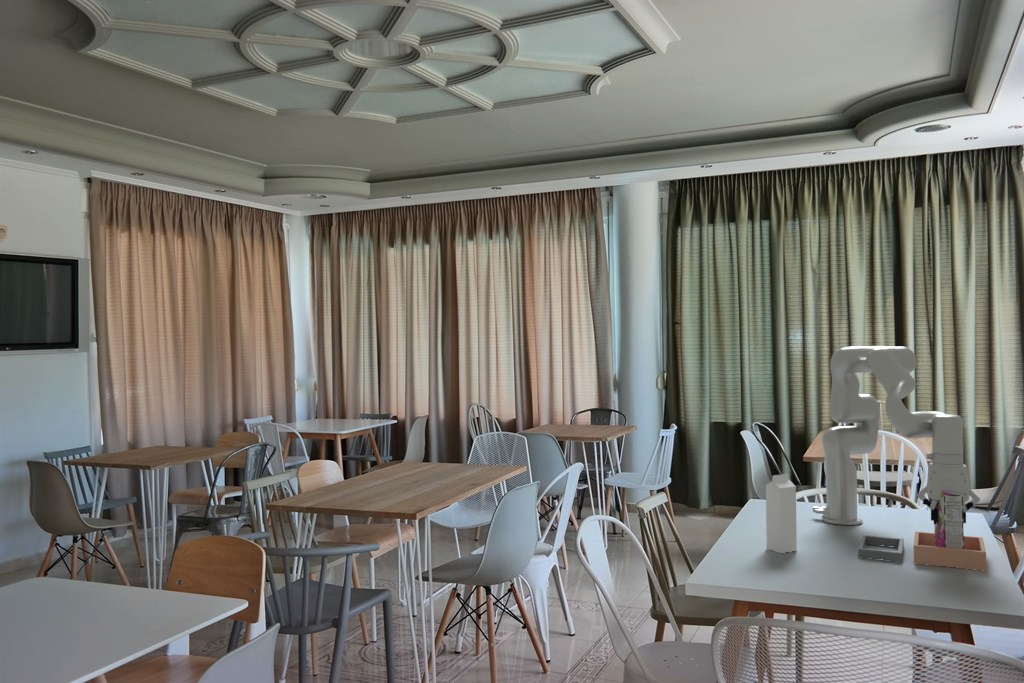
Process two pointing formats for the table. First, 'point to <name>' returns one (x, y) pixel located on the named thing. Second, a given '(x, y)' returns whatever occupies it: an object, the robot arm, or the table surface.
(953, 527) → the candy bar box
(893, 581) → the table surface
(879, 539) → the tray
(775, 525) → the milk
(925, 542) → the salmon hollow open box
